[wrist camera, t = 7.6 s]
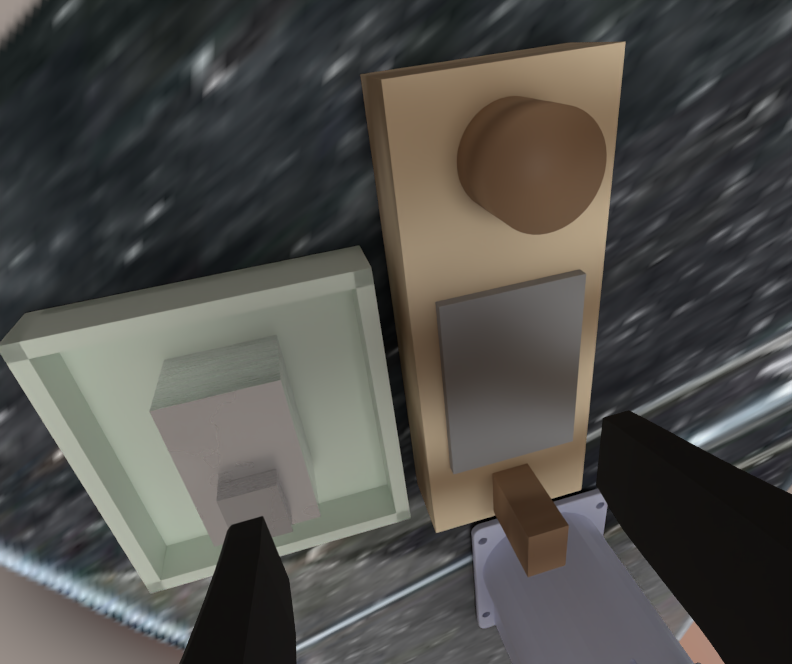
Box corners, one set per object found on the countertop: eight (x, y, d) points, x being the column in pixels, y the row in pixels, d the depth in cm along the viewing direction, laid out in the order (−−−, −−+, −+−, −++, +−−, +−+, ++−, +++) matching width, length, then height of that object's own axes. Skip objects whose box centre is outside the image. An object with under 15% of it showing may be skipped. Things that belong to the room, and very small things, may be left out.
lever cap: (313, 462, 22) (323, 533, 19) (218, 486, 21) (212, 565, 18) (276, 334, 19) (281, 394, 15) (164, 359, 18) (144, 427, 15)
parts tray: (398, 482, 24) (410, 518, 23) (159, 548, 23) (150, 593, 21) (359, 245, 18) (371, 267, 16) (24, 313, 17) (-4, 346, 15)
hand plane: (549, 446, 26) (626, 550, 20) (417, 483, 25) (462, 602, 19) (568, 42, 17) (718, 40, 11) (360, 74, 16) (416, 88, 10)
